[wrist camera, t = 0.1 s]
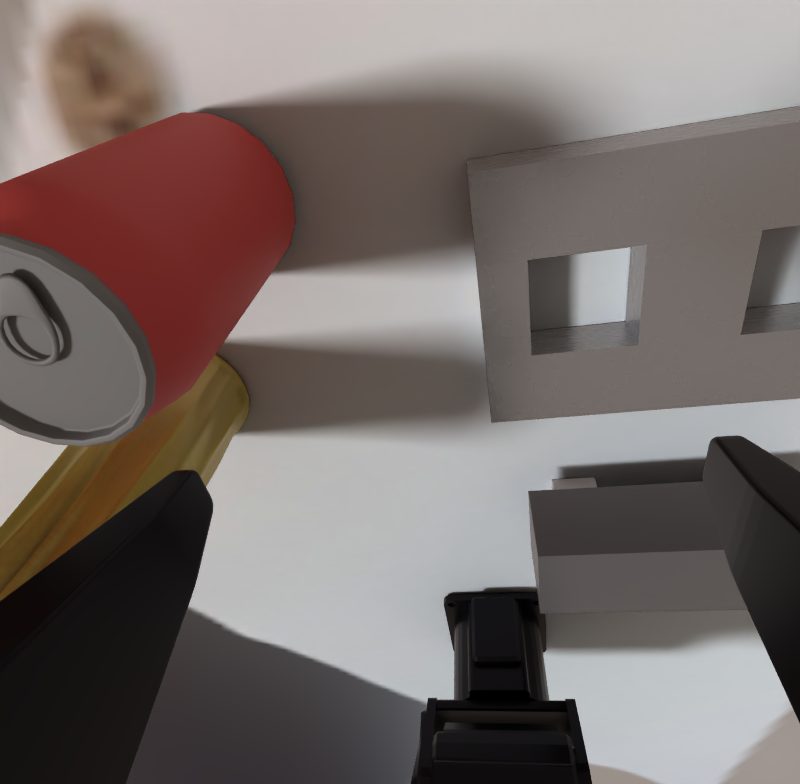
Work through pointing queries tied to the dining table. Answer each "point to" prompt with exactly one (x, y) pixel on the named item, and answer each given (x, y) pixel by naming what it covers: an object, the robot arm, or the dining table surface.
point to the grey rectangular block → (628, 549)
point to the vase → (121, 473)
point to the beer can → (131, 273)
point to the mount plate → (641, 267)
